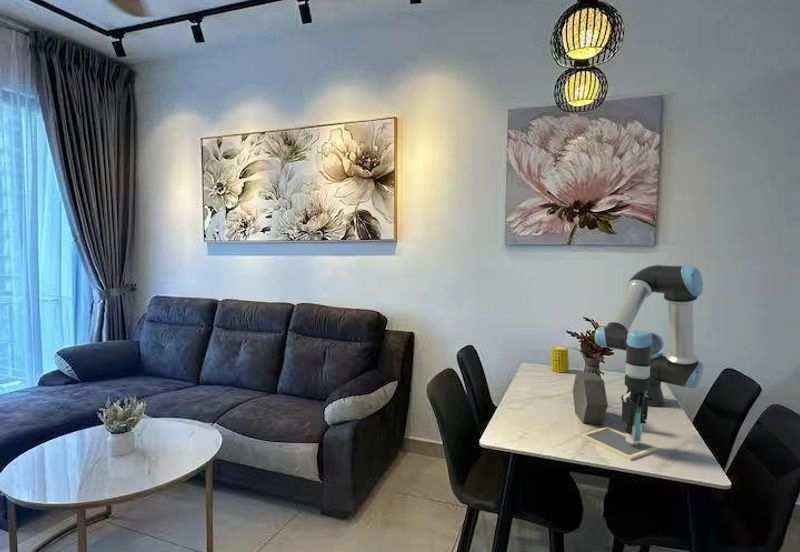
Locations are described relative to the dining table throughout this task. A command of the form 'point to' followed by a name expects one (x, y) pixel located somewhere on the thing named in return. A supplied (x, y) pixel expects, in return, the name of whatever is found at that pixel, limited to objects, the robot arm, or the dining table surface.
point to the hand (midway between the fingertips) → (633, 441)
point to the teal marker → (637, 424)
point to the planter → (589, 398)
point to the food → (559, 358)
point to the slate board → (618, 443)
